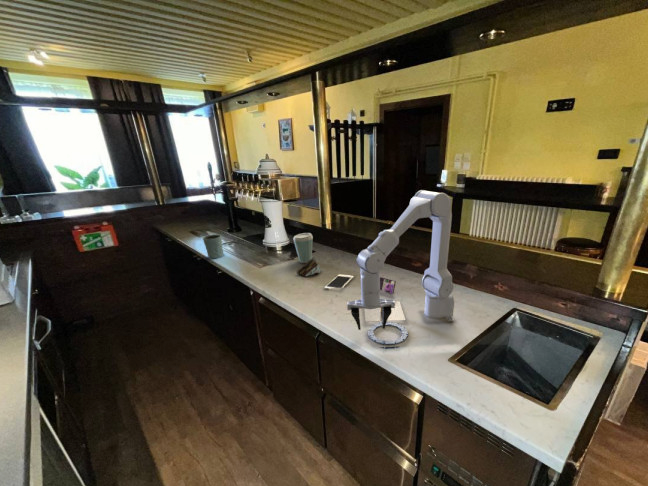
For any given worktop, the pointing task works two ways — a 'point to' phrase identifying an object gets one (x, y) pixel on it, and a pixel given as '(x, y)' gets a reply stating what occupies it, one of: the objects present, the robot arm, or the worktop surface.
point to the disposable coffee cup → (304, 246)
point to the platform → (377, 314)
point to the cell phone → (339, 281)
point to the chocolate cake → (309, 268)
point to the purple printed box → (387, 285)
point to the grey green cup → (213, 246)
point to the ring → (389, 342)
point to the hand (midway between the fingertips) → (371, 327)
